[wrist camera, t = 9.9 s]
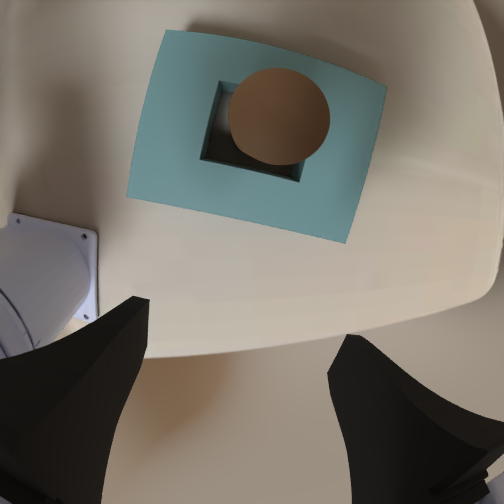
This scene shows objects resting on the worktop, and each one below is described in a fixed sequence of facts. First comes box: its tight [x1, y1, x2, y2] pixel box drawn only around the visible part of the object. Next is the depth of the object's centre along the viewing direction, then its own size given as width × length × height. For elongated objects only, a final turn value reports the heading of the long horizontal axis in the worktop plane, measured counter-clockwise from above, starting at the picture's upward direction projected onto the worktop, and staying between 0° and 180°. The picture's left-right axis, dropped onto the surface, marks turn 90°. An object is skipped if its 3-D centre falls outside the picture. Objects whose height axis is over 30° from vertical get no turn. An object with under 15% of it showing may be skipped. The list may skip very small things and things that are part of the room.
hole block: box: [127, 30, 387, 244], centre depth 15 cm, size 13×10×3 cm
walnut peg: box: [228, 68, 330, 165], centre depth 12 cm, size 3×3×10 cm
